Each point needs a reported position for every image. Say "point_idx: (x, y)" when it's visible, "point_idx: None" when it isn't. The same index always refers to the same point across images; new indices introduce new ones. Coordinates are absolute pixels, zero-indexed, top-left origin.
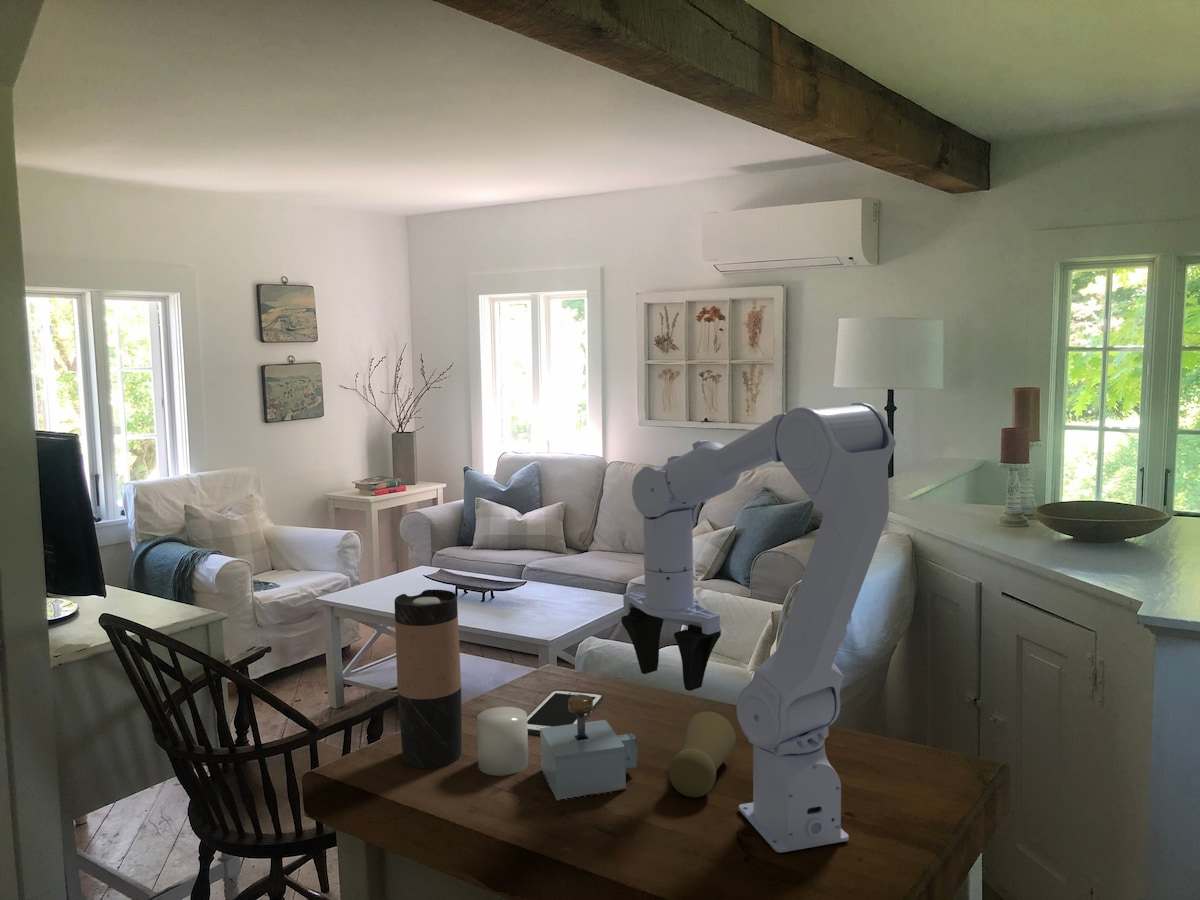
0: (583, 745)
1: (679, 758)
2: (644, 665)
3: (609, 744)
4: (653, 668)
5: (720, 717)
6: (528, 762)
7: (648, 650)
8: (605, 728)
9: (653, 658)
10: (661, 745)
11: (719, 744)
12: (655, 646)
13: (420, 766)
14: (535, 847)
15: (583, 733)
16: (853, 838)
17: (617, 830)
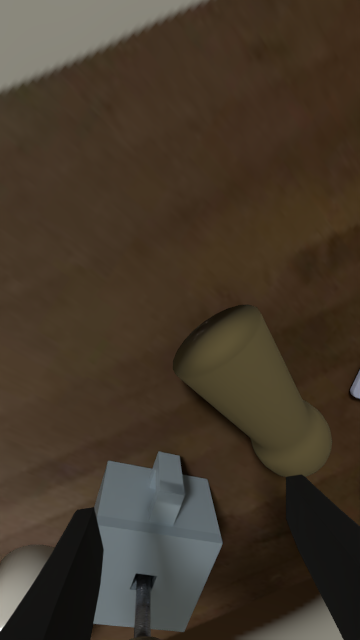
0: (176, 591)
1: None
2: (98, 583)
3: (198, 558)
4: (94, 529)
5: (252, 348)
6: (53, 549)
7: (75, 630)
8: (134, 540)
9: (85, 567)
10: (106, 361)
11: (290, 380)
12: (63, 612)
13: None
14: (252, 598)
15: (150, 592)
16: None
17: (280, 526)
